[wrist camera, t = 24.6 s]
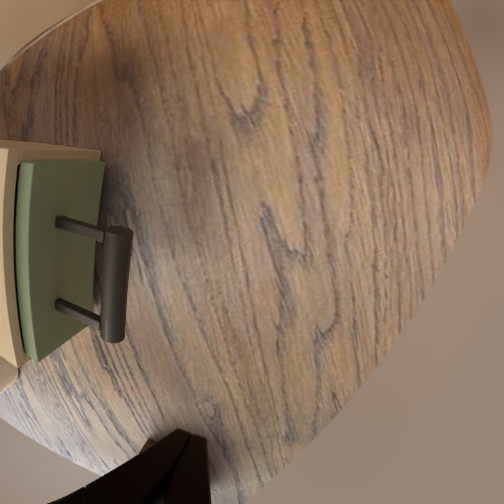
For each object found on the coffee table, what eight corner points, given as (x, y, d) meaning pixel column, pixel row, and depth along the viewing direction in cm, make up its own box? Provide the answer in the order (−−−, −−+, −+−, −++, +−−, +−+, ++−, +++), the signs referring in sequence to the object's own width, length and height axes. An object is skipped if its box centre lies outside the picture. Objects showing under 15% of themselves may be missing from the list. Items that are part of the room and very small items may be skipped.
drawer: (174, 174, 17) (111, 177, 11) (150, 346, 20) (102, 399, 14) (-28, 144, 20) (-77, 147, 14) (-31, 255, 23) (-75, 271, 17)
